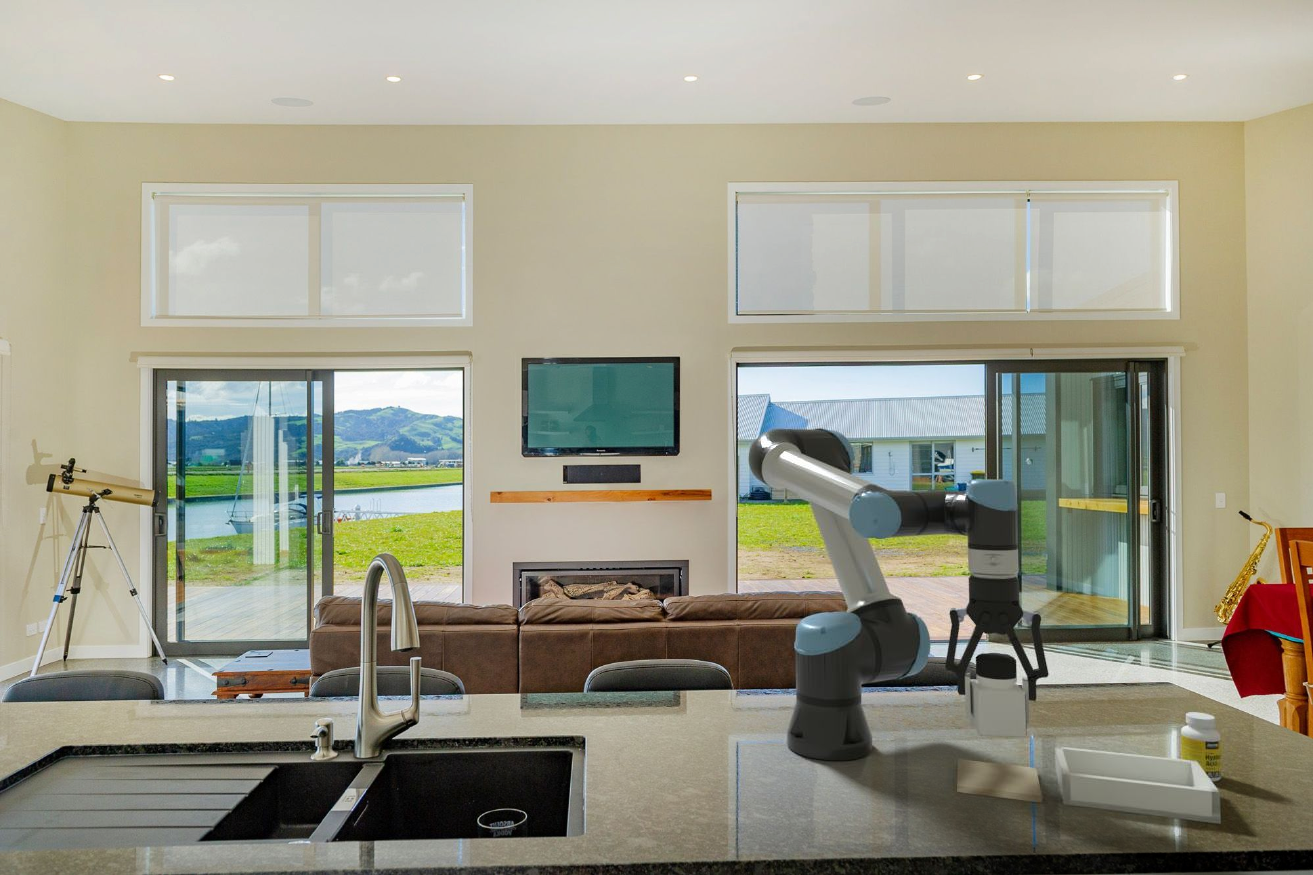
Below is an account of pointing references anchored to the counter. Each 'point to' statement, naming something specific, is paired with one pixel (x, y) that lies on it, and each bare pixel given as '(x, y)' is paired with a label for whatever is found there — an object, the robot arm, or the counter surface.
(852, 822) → the counter surface
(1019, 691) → the medicine bottle
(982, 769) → the board
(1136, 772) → the parts bin
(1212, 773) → the supplement bottle
